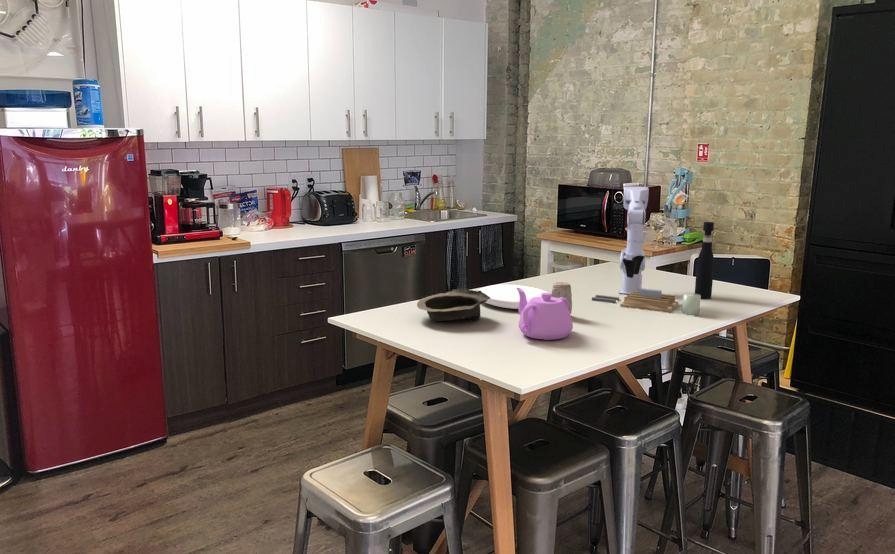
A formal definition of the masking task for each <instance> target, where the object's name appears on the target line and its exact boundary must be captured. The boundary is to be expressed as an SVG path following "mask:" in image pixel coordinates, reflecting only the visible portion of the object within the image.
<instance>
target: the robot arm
mask: <svg viewBox="0 0 895 554" xmlns="http://www.w3.org/2000/svg"><path fill="white" fill-rule="evenodd" d="M649 190H650V189H649V186H626V185H625V186H624V188H623V208H624V209H625V210H627V216H626V217H627V219H626V223H627V236H626V237H627V239H626V240H627V241H626V247H625V248H623V249H622V250H621V252H620V255H619V256H620V258H619V269H620V270H621V271H622V276H621V277H622V278H621V281H622V282H621V290H620V291H618V294H623V295H630V293H633V291H639V289H640V288H642V286H643V285H642V284H643V283H642V282H643V274H642V272H643V271H645V269H646V252H645V251H644V249H643V241H644V239H643V238H644V228H645V227H644V226H645V222H646V209H647V206H648V202H649V194H650V192H649Z"/></svg>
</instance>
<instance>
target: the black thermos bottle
mask: <svg viewBox="0 0 895 554" xmlns="http://www.w3.org/2000/svg"><path fill="white" fill-rule="evenodd" d="M702 227H703V228H702V231H703V232H704V234H703V235H704V236H703V240H702V242H701V249H700V252H699V254H698V256H697V257H698V258H697V261H696V272H695V274H696V275H695V283H694V284H695V286H694V293H695V294H699V295H701V299H700V300H710V298H711V299H712V291H713V280H714V268H715V257H714V252H713V249H712V248H713V242H712V241H713V237H712V232H714V229H715V228H714V227H715V222H713V221H703V225H702Z"/></svg>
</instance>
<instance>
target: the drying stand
mask: <svg viewBox="0 0 895 554" xmlns="http://www.w3.org/2000/svg"><path fill="white" fill-rule="evenodd" d="M616 300H617V302H618V301H619V300H620V297H619V296H611V295H602V294H596V295H595V296H593V297H591V301H594V302H595V301H596V302H603V303H612V304H615V303H616Z"/></svg>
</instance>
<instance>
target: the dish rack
mask: <svg viewBox="0 0 895 554" xmlns="http://www.w3.org/2000/svg"><path fill="white" fill-rule="evenodd" d="M623 300H624V301H622V302H621V303H620V305H619V306H621V307H620V308H628V307H630V308H629V309H636V308H639V309H638V310H644V309H647V311H652V310H654V311H653V312H660V311H662V313H668V312H669V313H670V312H672V311H673V310H674V309H675V308H676V307H677V306H678V305H679V301H677V300H676V295H672V294H664V293H662V294H661V299H660V298H651V297H643V296H639V291H633V293H630V294H626V296H624V298H623ZM677 304H678V305H677ZM676 305H677V306H676ZM675 306H676V307H675ZM674 307H675V308H674ZM673 308H674V309H673ZM672 309H673V310H672Z"/></svg>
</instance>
